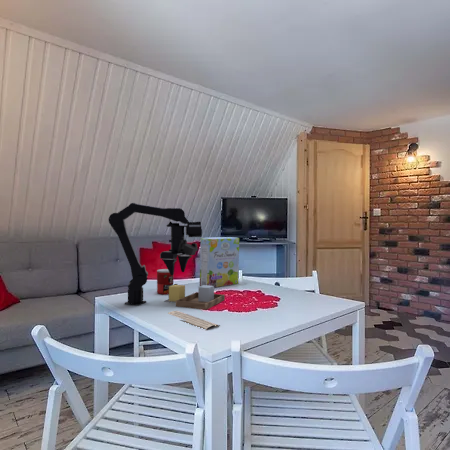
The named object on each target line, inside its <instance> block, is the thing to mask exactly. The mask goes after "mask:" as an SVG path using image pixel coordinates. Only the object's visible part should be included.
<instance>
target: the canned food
mask: <svg viewBox="0 0 450 450" xmlns="http://www.w3.org/2000/svg"><path fill="white" fill-rule="evenodd" d="M172 285H174V274H173V275H170V273H169V270H168V268H162V269H157V270H156V291H157V294H158V295H169V286H172Z"/></svg>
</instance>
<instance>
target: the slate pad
mask: <svg viewBox="0 0 450 450" xmlns="http://www.w3.org/2000/svg"><path fill="white" fill-rule="evenodd" d="M163 302H164V303H165V302H166V303H173V304H174V303H175V304H176V301H169V298H168V299H165V300H164V301H163Z"/></svg>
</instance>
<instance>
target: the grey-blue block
mask: <svg viewBox="0 0 450 450" xmlns="http://www.w3.org/2000/svg"><path fill="white" fill-rule="evenodd" d="M197 292H198V301H202V302H210V301H212V300H214V294H215V287H214V286H209V285H203V286H200V285H199V286H198V290H197Z"/></svg>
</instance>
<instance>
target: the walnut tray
mask: <svg viewBox="0 0 450 450" xmlns="http://www.w3.org/2000/svg"><path fill="white" fill-rule="evenodd" d="M225 299H226V298H225V294H220V293H219V294H218V293H214V300H212V301H210V302H202V301H198V291H195V292H194V293H191V294H189V295H185V297H184V298H181V299H179V300H176V303H175V307H177V308H185V309H186V308H188V309H196V310H204V311H207V310H209V309H211V308H212V307H214V306H216V305H218V304H220V303H222V302H223V301H225Z"/></svg>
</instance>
